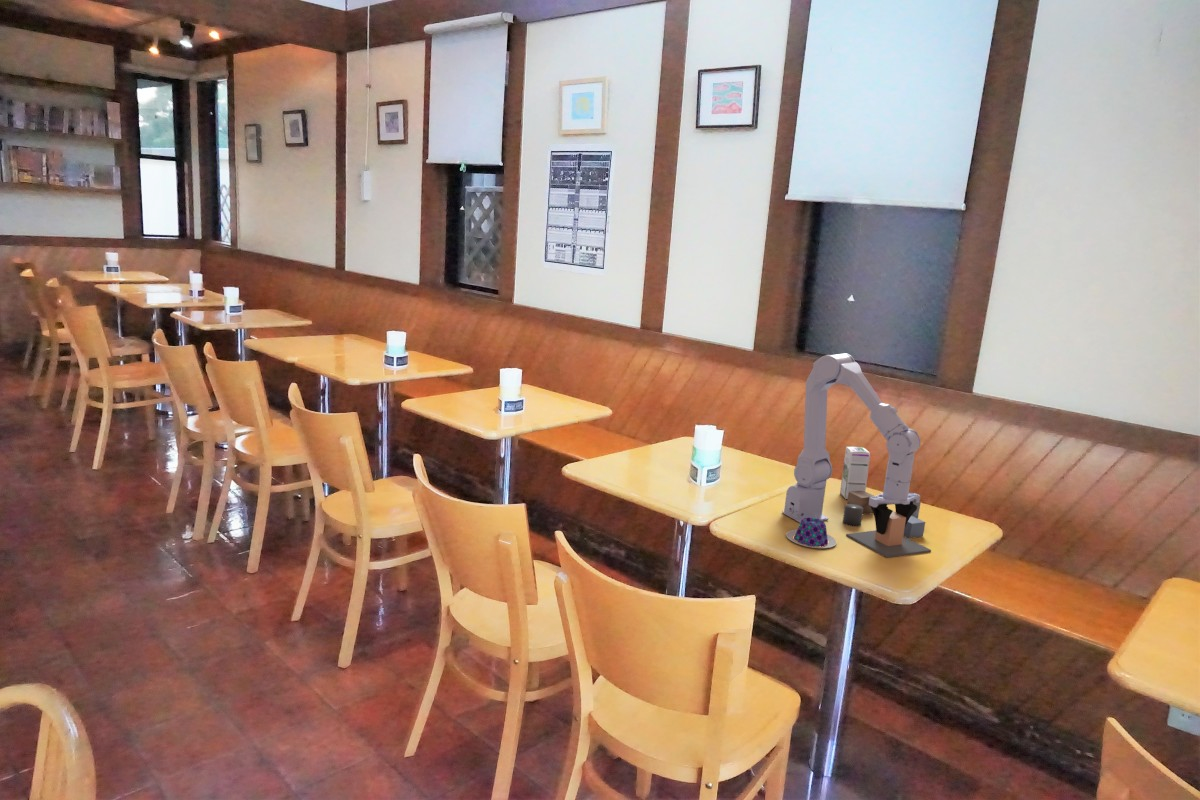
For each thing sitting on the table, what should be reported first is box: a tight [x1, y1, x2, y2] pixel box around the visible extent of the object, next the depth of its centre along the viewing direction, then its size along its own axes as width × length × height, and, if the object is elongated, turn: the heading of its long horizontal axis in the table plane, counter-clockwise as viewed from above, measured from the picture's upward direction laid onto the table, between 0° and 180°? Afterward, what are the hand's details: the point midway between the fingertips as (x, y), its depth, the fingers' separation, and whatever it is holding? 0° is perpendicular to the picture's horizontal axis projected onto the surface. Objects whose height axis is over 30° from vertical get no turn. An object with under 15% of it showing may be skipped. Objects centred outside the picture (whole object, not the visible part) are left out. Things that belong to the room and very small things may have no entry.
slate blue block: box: [903, 516, 926, 539], centre depth 204 cm, size 4×5×4 cm
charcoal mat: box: [845, 529, 932, 559], centre depth 196 cm, size 14×14×1 cm
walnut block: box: [846, 490, 875, 515], centre depth 218 cm, size 5×5×5 cm
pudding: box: [785, 517, 837, 549], centre depth 194 cm, size 12×12×5 cm
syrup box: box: [839, 446, 871, 500], centre depth 229 cm, size 6×6×14 cm
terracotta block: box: [875, 511, 906, 546], centre depth 195 cm, size 4×4×7 cm
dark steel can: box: [912, 501, 922, 519], centre depth 214 cm, size 4×4×6 cm
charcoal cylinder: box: [842, 503, 863, 527], centre depth 209 cm, size 5×5×4 cm
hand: (889, 531), depth 196 cm, fingers open, 5 cm apart
